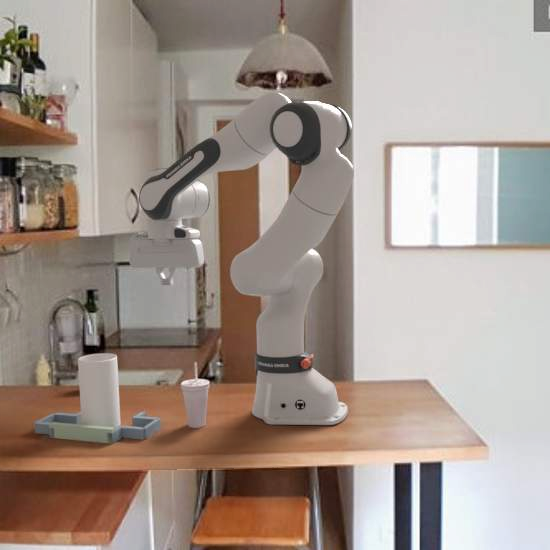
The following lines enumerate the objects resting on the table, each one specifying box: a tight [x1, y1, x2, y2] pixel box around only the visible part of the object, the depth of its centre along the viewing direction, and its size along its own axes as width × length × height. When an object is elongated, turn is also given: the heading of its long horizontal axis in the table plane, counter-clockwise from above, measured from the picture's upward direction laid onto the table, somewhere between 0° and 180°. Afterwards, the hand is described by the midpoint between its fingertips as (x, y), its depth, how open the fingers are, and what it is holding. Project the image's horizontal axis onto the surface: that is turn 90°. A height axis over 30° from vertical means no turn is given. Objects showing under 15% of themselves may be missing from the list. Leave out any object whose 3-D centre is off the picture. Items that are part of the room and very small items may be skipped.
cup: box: [77, 352, 121, 428], centre depth 125 cm, size 8×8×16 cm
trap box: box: [34, 410, 162, 445], centre depth 125 cm, size 26×14×3 cm, turn 73°
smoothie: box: [180, 361, 211, 429], centre depth 126 cm, size 6×6×14 cm
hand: (167, 284), depth 149 cm, fingers closed
